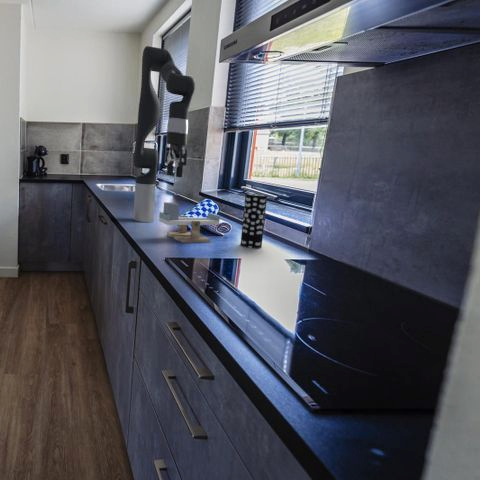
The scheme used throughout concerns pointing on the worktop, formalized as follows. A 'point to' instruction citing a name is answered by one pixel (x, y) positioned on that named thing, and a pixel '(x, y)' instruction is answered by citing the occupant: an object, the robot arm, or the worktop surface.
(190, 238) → the pivot stand
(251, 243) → the spotted tube
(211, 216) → the beam
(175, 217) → the steel weight
